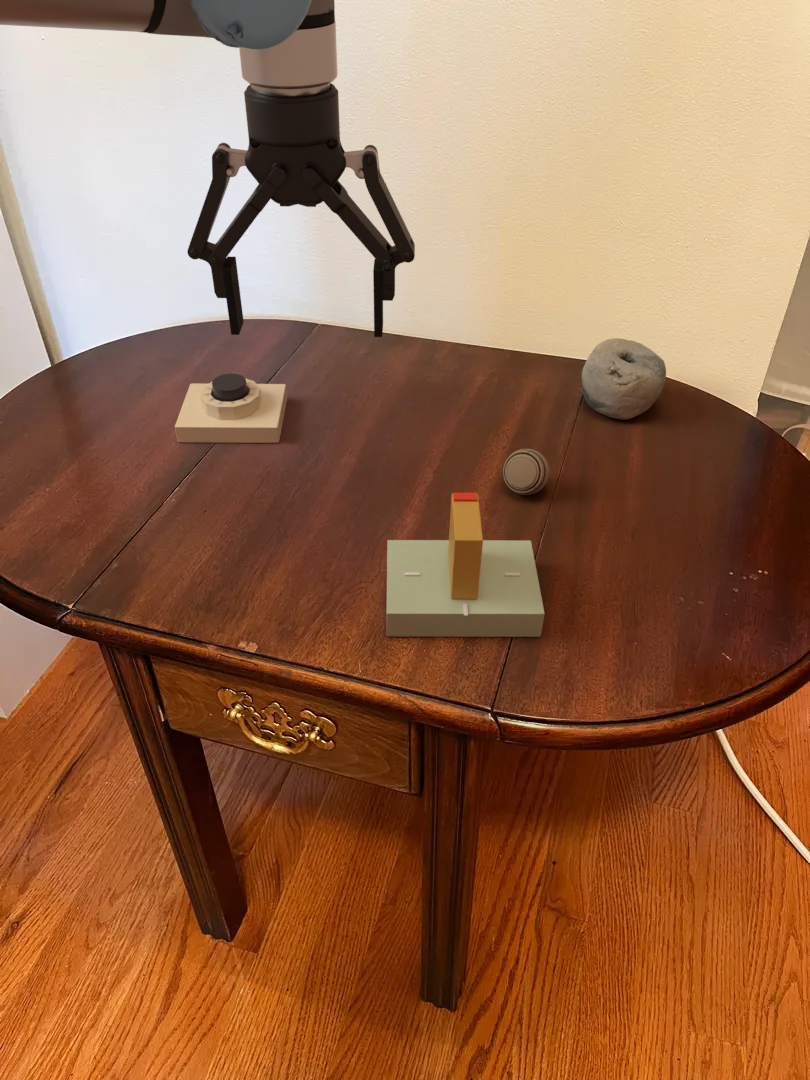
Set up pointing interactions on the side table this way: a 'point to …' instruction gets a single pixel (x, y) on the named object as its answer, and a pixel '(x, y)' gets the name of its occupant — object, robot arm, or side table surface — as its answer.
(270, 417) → the doorbell
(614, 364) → the stone
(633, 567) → the side table surface
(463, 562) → the lock knob
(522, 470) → the door knob
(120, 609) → the side table surface
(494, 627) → the plate
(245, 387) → the bell button
